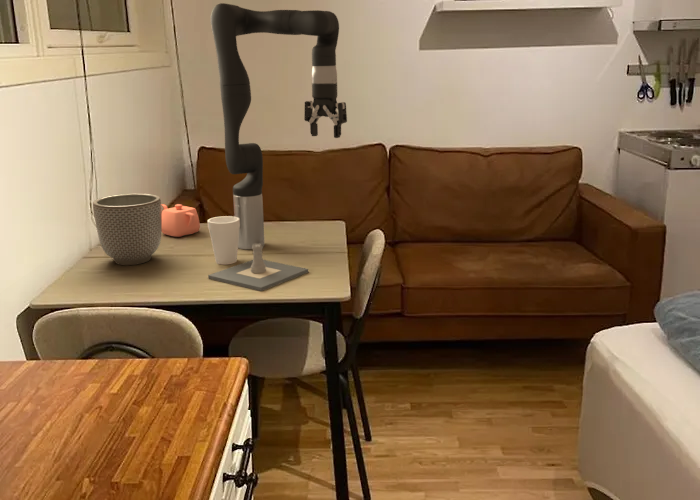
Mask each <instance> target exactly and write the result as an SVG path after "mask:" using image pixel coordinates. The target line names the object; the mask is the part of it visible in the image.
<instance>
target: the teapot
mask: <svg viewBox="0 0 700 500" xmlns="http://www.w3.org/2000/svg"><path fill="white" fill-rule="evenodd" d="M161 208H162V210H161V216H162V232H161V234H164V235H167V236H171V237H178V238H181V237H183V236H189V235H193V234H194V233H197V232H199V231H200V228H201V225H200V218H199V214H198V212H197V209H196V208H195V207H190V206H186V205H183V204H180V203H177V204H175V205H174V207H170V208H168V205H166V204H163V203H161Z"/></svg>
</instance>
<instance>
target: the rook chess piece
mask: <svg viewBox="0 0 700 500" xmlns="http://www.w3.org/2000/svg"><path fill="white" fill-rule="evenodd" d="M263 249H264V246H263V247H262V244H261V243H259V245H257V243H256V245H255V244H253V246H252V249H251V250H252V251H253V252H252V255H253V258H252V260H253V263H252V265H251V272H252V273H255V274H259V273H264V272H265V271H266V268H265V267H266V265H265V264H264V262H263V260H264V259H263Z"/></svg>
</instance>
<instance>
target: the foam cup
mask: <svg viewBox="0 0 700 500" xmlns="http://www.w3.org/2000/svg"><path fill="white" fill-rule="evenodd" d="M239 227H240V219H239V218H238V217H234V215H233V216H232V215H228V216H227V215H225V216H224V215H223V216H221V215H220V216H215V217H211V218H209V219H207V229H208V231H209V236H210V240H211V245H212V246H211V247H212V250H213V254H214V260H215V263H216V264H217V265H232V264H235V263H237V261H238V253H239V252H238V250H239V248H238V238H239Z"/></svg>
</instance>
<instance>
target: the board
mask: <svg viewBox="0 0 700 500" xmlns="http://www.w3.org/2000/svg"><path fill="white" fill-rule="evenodd" d="M263 262H264V264H265V265H266V267H265V268H266V271H265V272H264V273H259V274H255V273H252V272H251V265H252V263H253V259H251V260H248V261H246V262H243V263H239V264H236V265H234V266H231V267H228V268H224V269H221V270H220V271H216V272H213V273H211V274H208V277H207V278H209V279H208V280H212V279H213V280H212V281H218V282H222V283H225V284H231V285H233V286H234V285H235V286H239V287H242V288H245V289H250V290H253V291H254V290H255V291H259V292H263V291H265V290H268V289H270V288H272V287H275V286H278V285H280V284H282V283H285V282H287V281H290V280H292V279H295V278H297V277H300V276H303V275H305V274H308V273H309V268H306V267H302V266H301V267H300V266H296V265H291V264H286V263H280V262H276V261H271V260H266V259H263Z"/></svg>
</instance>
